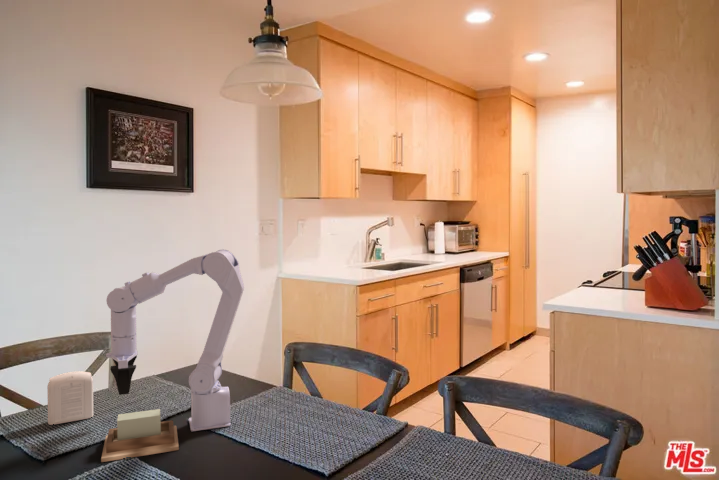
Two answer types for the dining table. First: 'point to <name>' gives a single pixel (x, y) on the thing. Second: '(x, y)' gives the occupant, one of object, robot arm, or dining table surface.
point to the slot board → (140, 444)
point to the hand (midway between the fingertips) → (124, 388)
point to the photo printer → (70, 397)
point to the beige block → (138, 424)
